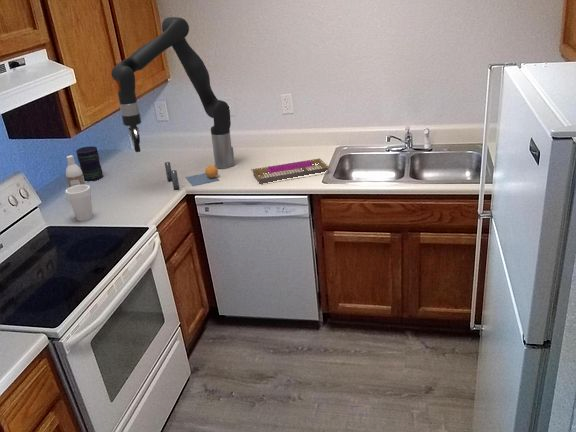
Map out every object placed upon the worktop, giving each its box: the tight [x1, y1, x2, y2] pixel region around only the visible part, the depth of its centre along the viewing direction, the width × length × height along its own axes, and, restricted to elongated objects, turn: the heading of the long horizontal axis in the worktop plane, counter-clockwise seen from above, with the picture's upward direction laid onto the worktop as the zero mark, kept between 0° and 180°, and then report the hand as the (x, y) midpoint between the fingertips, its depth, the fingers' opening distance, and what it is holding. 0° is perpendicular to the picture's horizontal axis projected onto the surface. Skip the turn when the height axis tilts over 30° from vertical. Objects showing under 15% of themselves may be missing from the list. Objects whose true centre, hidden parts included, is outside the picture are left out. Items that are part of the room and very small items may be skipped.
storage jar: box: [75, 145, 104, 182], centre depth 257 cm, size 10×10×15 cm
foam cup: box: [64, 184, 94, 222], centre depth 215 cm, size 10×9×13 cm
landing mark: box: [185, 172, 220, 187], centre depth 250 cm, size 13×13×1 cm
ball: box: [204, 164, 219, 178], centre depth 250 cm, size 6×6×6 cm
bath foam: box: [65, 154, 86, 188], centre depth 234 cm, size 7×7×20 cm
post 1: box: [164, 161, 172, 182], centre depth 249 cm, size 3×3×9 cm
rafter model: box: [250, 158, 331, 185], centre depth 247 cm, size 35×14×6 cm, turn 107°
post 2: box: [171, 169, 180, 191], centre depth 238 cm, size 3×3×9 cm
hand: (137, 151), depth 233 cm, fingers closed
